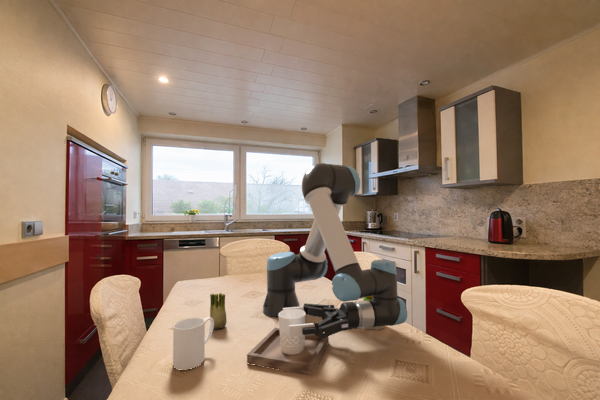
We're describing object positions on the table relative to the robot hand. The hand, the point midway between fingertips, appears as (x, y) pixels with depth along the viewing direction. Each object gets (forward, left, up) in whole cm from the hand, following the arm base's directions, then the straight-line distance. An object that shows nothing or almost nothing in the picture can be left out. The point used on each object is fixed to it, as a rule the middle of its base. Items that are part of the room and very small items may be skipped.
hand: (285, 321), depth 77 cm
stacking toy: (+22, +27, -9) cm, 36 cm away
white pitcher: (-23, -10, -9) cm, 27 cm away
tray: (+1, +1, -9) cm, 9 cm away
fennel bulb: (-30, +10, -9) cm, 33 cm away
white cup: (+2, +1, -8) cm, 9 cm away
